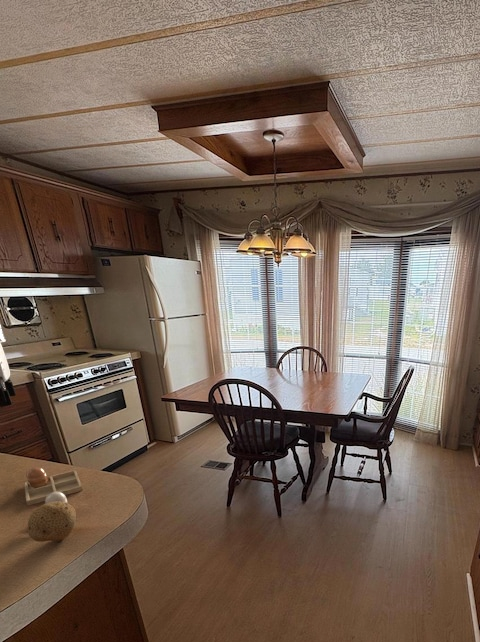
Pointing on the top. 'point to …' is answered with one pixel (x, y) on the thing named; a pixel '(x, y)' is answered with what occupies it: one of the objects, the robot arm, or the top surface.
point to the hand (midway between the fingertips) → (6, 400)
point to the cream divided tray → (53, 487)
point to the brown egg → (37, 477)
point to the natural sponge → (51, 522)
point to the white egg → (56, 497)
